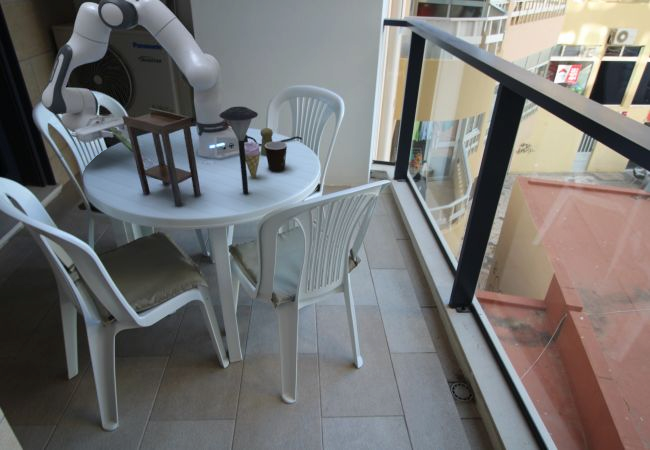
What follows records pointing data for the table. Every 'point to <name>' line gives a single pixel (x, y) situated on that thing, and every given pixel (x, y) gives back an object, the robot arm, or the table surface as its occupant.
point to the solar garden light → (240, 133)
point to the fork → (145, 159)
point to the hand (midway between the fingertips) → (117, 133)
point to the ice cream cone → (252, 157)
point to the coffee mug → (276, 155)
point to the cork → (265, 139)
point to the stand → (167, 173)
